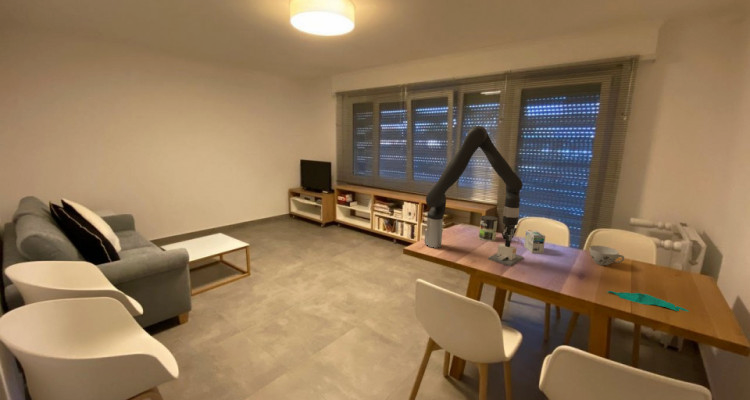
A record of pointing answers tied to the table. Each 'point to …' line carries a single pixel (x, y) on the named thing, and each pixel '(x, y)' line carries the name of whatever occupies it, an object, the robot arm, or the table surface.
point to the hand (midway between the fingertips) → (507, 246)
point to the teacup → (604, 255)
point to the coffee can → (488, 228)
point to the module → (507, 251)
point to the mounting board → (506, 260)
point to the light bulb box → (534, 241)
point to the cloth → (647, 300)
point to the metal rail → (502, 258)
